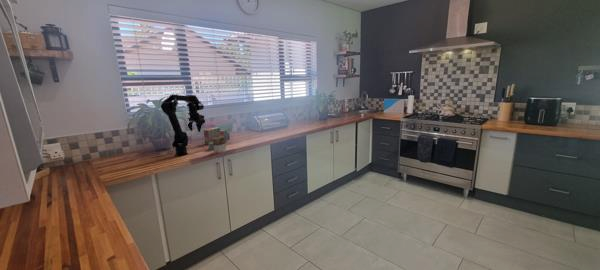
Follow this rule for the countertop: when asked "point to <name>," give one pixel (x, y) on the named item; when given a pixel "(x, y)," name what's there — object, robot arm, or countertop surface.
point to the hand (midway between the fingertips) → (195, 131)
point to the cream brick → (219, 148)
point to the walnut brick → (219, 141)
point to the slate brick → (211, 146)
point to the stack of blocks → (214, 134)
